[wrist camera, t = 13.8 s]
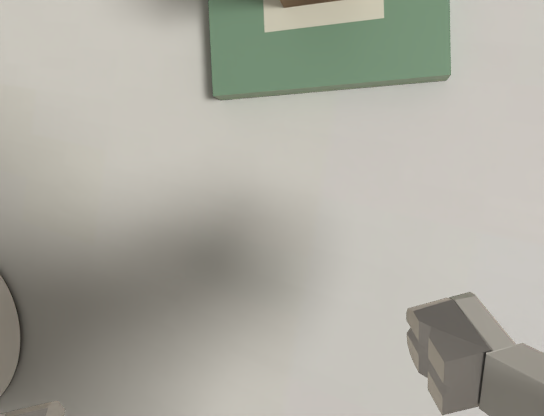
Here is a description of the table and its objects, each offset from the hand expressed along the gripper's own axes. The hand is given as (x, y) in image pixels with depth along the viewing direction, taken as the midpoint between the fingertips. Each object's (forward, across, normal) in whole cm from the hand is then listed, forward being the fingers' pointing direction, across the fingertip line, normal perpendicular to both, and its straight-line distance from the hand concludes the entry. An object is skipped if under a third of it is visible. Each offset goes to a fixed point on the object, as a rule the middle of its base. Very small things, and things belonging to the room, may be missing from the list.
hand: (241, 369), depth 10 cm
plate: (+23, -9, -5) cm, 25 cm away
